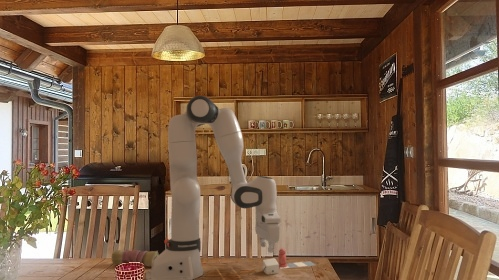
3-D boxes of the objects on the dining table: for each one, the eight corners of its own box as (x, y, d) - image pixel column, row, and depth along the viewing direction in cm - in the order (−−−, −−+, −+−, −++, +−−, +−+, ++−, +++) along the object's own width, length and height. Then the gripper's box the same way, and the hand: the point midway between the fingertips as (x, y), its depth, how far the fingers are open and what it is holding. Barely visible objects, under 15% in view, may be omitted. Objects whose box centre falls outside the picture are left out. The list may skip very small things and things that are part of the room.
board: (280, 271, 156) (280, 268, 156) (275, 267, 161) (275, 264, 161) (316, 267, 160) (316, 265, 160) (310, 263, 166) (310, 261, 166)
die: (262, 271, 153) (266, 278, 148) (262, 259, 152) (266, 266, 147) (275, 269, 155) (279, 276, 150) (275, 258, 154) (280, 264, 149)
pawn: (279, 267, 157) (279, 250, 157) (276, 265, 160) (276, 247, 161) (288, 266, 158) (288, 249, 158) (285, 264, 161) (284, 247, 162)
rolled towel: (162, 260, 168) (122, 258, 173) (159, 246, 165) (118, 244, 170) (155, 272, 161) (113, 269, 166) (151, 258, 158) (109, 255, 163)
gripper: (251, 212, 167) (252, 244, 166) (267, 219, 147) (267, 256, 146) (265, 211, 168) (265, 243, 168) (282, 218, 149) (282, 254, 148)
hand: (266, 249), depth 157 cm, fingers open, 8 cm apart
